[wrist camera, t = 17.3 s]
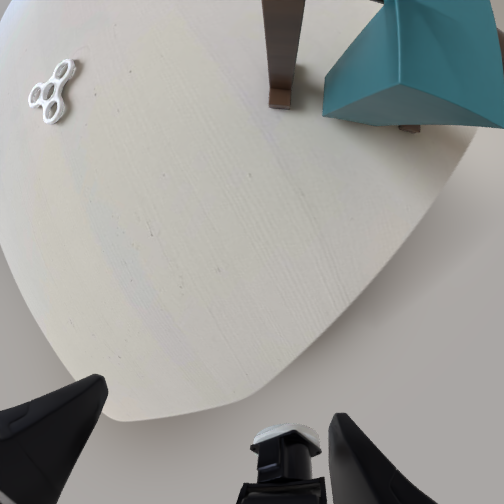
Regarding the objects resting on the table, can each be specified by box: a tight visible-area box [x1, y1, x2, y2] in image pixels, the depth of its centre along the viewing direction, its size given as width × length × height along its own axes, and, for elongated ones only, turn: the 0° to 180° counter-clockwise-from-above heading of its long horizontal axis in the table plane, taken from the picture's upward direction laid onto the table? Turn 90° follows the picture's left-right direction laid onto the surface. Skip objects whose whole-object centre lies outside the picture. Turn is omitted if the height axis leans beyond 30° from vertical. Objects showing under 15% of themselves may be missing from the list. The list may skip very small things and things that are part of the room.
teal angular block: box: [322, 0, 504, 129], centre depth 9 cm, size 7×4×13 cm, turn 175°
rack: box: [262, 0, 504, 133], centre depth 10 cm, size 4×12×14 cm, turn 85°
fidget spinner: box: [28, 59, 75, 124], centre depth 18 cm, size 7×6×1 cm
